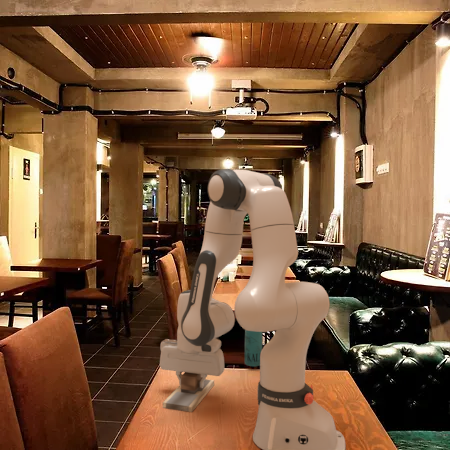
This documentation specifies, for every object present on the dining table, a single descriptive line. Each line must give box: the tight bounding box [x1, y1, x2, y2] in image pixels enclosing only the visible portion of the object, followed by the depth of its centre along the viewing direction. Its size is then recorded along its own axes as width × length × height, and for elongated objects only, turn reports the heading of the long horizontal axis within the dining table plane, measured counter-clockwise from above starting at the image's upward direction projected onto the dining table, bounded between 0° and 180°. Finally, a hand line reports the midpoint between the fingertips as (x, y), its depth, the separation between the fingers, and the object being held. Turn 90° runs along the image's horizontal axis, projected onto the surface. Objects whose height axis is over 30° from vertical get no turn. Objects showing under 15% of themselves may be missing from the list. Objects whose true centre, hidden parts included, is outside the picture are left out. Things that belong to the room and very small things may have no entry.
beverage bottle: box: [243, 329, 264, 367], centre depth 160 cm, size 6×7×20 cm
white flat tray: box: [162, 378, 215, 413], centre depth 137 cm, size 9×20×2 cm, turn 163°
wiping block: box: [181, 372, 203, 394], centre depth 138 cm, size 4×7×5 cm, turn 163°
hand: (191, 386), depth 137 cm, fingers closed on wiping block, 4 cm apart
